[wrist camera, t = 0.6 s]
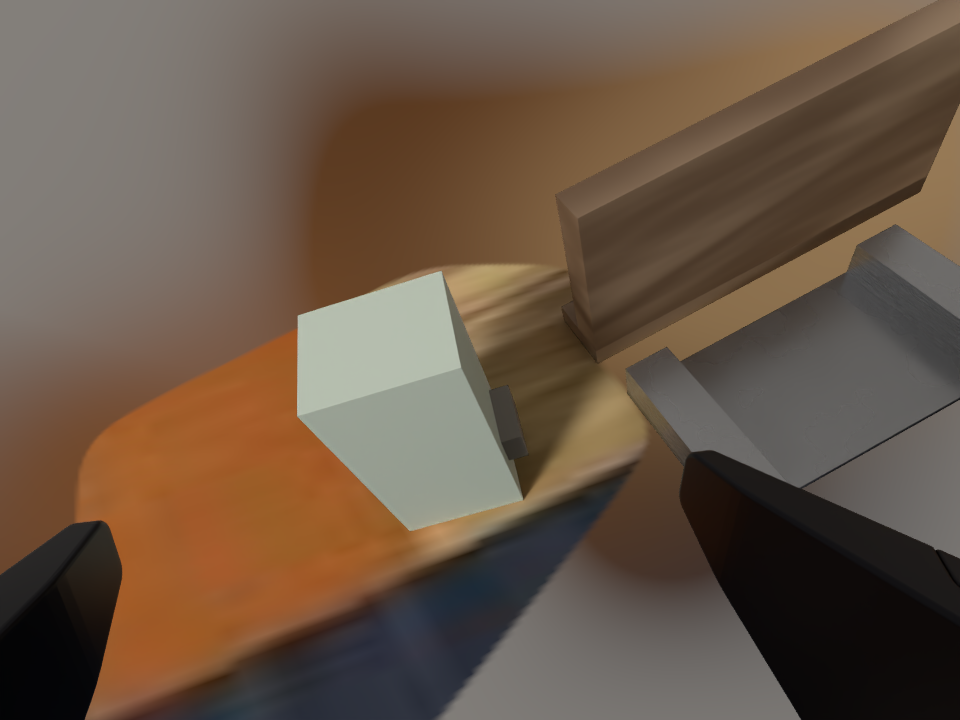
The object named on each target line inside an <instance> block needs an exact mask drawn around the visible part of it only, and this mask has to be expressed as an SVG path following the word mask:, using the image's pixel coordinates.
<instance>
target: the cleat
mask: <svg viewBox="0 0 960 720" xmlns="http://www.w3.org/2000/svg"><path fill="white" fill-rule="evenodd" d="M626 382H627V394H628V395H629V396H630V398H631V399H632V400H633V402H634V403H635V404H636V405H637V407H638V408H639V409H640V411H641V412H642V413H643V415H644V416H645V417H646V418H647V420H648V421H649V422H650V424H651V425H652V426H653V427H654V429H655V430H656V431H657V433H658V434H659V435H660V436H661V438H662V439H663V440H664V442H665V443H666V444H667V446H668V447H669V448H670V449H671V451H672V452H673V453H674V455H675V456H676V457H677V459H678V460H679V461H680V462H681V464H682V465H683V466H684V464H685V460H686V457H687V456H688V454H690V453H691V452H696V451H705V450H714V451H716V452H719V453H721V454H723V455H725V456H728V457H730V458H732V459H734V460H737V461H739V462H741V463H743V464H746V465H748V466H750V467H753V468H755V469H757V470H759V471H762V472H764V473H766V474H768V475H771V476H773V477H775V478H778V479H780V480H782V481H784V482H787V483H789V484H791V485H793V486H796V487H798V488H800V489H802V488H804V487H806V486H808V485H809V484H811V483H813V482H815V481H816V480H818V479H820V478H822V477H824V476H825V475H827V474H829V473H831V472H832V471H834V470H836V469H838V468H839V467H841V466H843V465H845V464H847V463H848V462H850V461H852V460H854V459H855V458H857V457H859V456H861V455H863V454H864V453H866V452H868V451H870V450H871V449H873V448H875V447H877V446H879V445H880V444H882V443H884V442H885V441H887V440H889V439H891V438H893V437H894V436H896V435H898V434H900V433H902V432H903V431H905V430H907V429H908V428H910V427H912V426H914V425H916V424H917V423H919V422H921V421H923V420H925V419H926V418H928V417H930V416H932V415H933V414H935V413H937V412H939V411H941V410H942V409H944V408H946V407H947V406H949V405H951V404H953V403H955V402H956V401H958V400H960V266H958V265H957V264H955V263H953V262H952V261H951V260H949V259H948V258H946V257H945V256H943V255H942V254H940V253H938V252H937V251H935V250H934V249H932V248H931V247H929V246H928V245H926V244H925V243H923V242H922V241H920V240H919V239H917V238H916V237H914V236H913V235H911V234H910V233H908V232H907V231H905V230H904V229H902V228H901V227H899V226H898V225H893V226H892V227H890V228H888V229H886V230H884V231H882V232H880V233H879V234H877V235H875V236H873V237H871V238H869V239H867V240H865V241H864V242H862V243H860V244H858V245H857V246H856V249H855V252H854V254H853V257H852V260H851V262H850V265H849V268H848V270H847V272H846V273H844V274H842V275H840V276H838V277H836V278H835V279H833V280H831V281H829V282H827V283H825V284H823V285H822V286H820V287H818V288H816V289H814V290H812V291H810V292H809V293H807V294H805V295H803V296H801V297H799V298H797V299H796V300H794V301H792V302H790V303H788V304H786V305H784V306H783V307H781V308H779V309H777V310H775V311H773V312H771V313H769V314H768V315H766V316H764V317H762V318H760V319H758V320H756V321H755V322H753V323H751V324H749V325H747V326H745V327H743V328H742V329H740V330H738V331H736V332H734V333H732V334H730V335H729V336H727V337H725V338H723V339H721V340H719V341H718V342H716V343H714V344H712V345H710V346H708V347H706V348H704V349H703V350H701V351H699V352H697V353H695V354H693V355H691V356H690V357H688V358H686V359H684V360H682V361H679V360H678V359H677V358H676V357H675V355H674V354H673V353H672V352H671V351H670V350H669V349H668V348H667V347H666V348H664V349H662V350H660V351H658V352H656V353H655V354H652V355H651V356H649V357H647V358H645V359H643V360H641V361H639V362H638V363H636V364H634V365H632V366H630V367H628V368H626Z"/></svg>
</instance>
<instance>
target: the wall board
mask: <svg viewBox="0 0 960 720" xmlns="http://www.w3.org/2000/svg"><path fill="white" fill-rule="evenodd" d="M959 104H960V0H938V1H936V2H934V3H932V4H930V5H928V6H926V7H924V8H922V9H920V10H918V11H916V12H914V13H912V14H910V15H908V16H906V17H904V18H902V19H901V20H899V21H896V22H894V23H892V24H890V25H888V26H886V27H885V28H883V29H881V30H879V31H877V32H875V33H873V34H871V35H869V36H867V37H865V38H863V39H861V40H859V41H857V42H855V43H853V44H851V45H849V46H847V47H845V48H843V49H841V50H839V51H837V52H835V53H833V54H831V55H829V56H827V57H825V58H823V59H822V60H819V61H818V62H816V63H814V64H812V65H810V66H808V67H806V68H804V69H802V70H800V71H798V72H796V73H794V74H792V75H790V76H788V77H786V78H784V79H782V80H780V81H778V82H776V83H774V84H772V85H770V86H768V87H766V88H764V89H763V90H760V91H759V92H756V93H754V94H753V95H751V96H749V97H747V98H745V99H743V100H741V101H739V102H737V103H735V104H733V105H731V106H729V107H727V108H725V109H723V110H721V111H719V112H717V113H715V114H713V115H711V116H709V117H707V118H705V119H703V120H701V121H699V122H697V123H696V124H694V125H691V126H689V127H688V128H686V129H684V130H682V131H680V132H678V133H676V134H674V135H672V136H670V137H668V138H666V139H664V140H662V141H660V142H658V143H656V144H654V145H652V146H650V147H648V148H646V149H644V150H642V151H640V152H638V153H636V154H634V155H632V156H630V157H628V158H626V159H624V160H623V161H621V162H619V163H617V164H615V165H613V166H611V167H609V168H607V169H605V170H603V171H601V172H599V173H597V174H595V175H593V176H591V177H589V178H587V179H585V180H583V181H581V182H579V183H577V184H575V185H573V186H571V187H569V188H567V189H565V190H563V191H561V192H559V193H557V194H556V195H555V196H556V202H557V207H558V214H559V219H560V225H561V231H562V237H563V242H564V249H565V255H566V260H567V266H568V272H569V278H570V284H571V290H572V295H573V301H571V302H570V303H568V304H566V305H564V306H562V312H563V317H564V320H565V321H566V323H567V324H568V325H569V327H570V328H571V329H572V331H573V332H574V333H575V335H576V336H577V337H578V339H579V340H580V341H581V342H582V344H583V345H584V346H585V348H586V349H587V350H588V352H589V353H590V354H591V356H592V357H593V358H594V360H595V361H596V362H597V363H600V362H602V361H604V360H606V359H607V358H609V357H611V356H613V355H615V354H617V353H619V352H620V351H622V350H624V349H626V348H628V347H630V346H632V345H634V344H636V343H637V342H639V341H641V340H643V339H645V338H647V337H649V336H651V335H652V334H654V333H656V332H658V331H660V330H662V329H663V328H666V327H668V326H669V325H671V324H673V323H675V322H677V321H679V320H681V319H682V318H684V317H686V316H688V315H690V314H692V313H694V312H696V311H698V310H699V309H701V308H703V307H705V306H707V305H709V304H711V303H713V302H714V301H716V300H718V299H720V298H722V297H724V296H726V295H728V294H730V293H731V292H733V291H735V290H737V289H739V288H741V287H743V286H745V285H746V284H748V283H750V282H752V281H754V280H756V279H757V278H760V277H761V276H763V275H765V274H767V273H769V272H771V271H772V270H774V269H776V268H778V267H780V266H782V265H784V264H786V263H788V262H789V261H791V260H793V259H795V258H797V257H799V256H801V255H803V254H804V253H806V252H808V251H810V250H812V249H814V248H816V247H818V246H820V245H822V244H823V243H825V242H827V241H829V240H831V239H833V238H835V237H836V236H838V235H840V234H842V233H844V232H846V231H848V230H849V229H852V228H853V227H855V226H857V225H859V224H861V223H863V222H865V221H867V220H868V219H870V218H872V217H874V216H876V215H878V214H880V213H882V212H883V211H885V210H887V209H889V208H891V207H893V206H895V205H897V204H899V203H900V202H902V201H904V200H906V199H908V198H910V197H911V196H914V195H915V194H917V193H919V192H920V191H921V189H922V186H923V184H924V182H925V180H926V177H927V175H928V173H929V171H930V168H931V166H932V164H933V162H934V159H935V157H936V155H937V153H938V151H939V148H940V146H941V144H942V142H943V139H944V137H945V135H946V133H947V130H948V128H949V126H950V124H951V121H952V119H953V117H954V115H955V112H956V110H957V108H958V106H959Z"/></svg>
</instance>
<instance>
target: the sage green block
mask: <svg viewBox="0 0 960 720" xmlns="http://www.w3.org/2000/svg"><path fill="white" fill-rule="evenodd" d="M297 416H298V418H299V419H300V420H301V421H302V422H303V423H304V424H305V425H306V426H307V427H308V428H309V429H310V430H311V431H312V432H313V433H314V434H315V435H316V436H317V437H318V438H319V439H320V440H321V441H322V442H323V443H324V444H325V445H326V446H327V447H328V448H329V449H330V450H331V451H332V452H333V453H334V454H335V455H336V456H337V457H338V458H339V459H340V460H341V461H342V462H343V463H344V464H345V465H346V466H347V467H348V468H349V469H350V470H351V472H352V473H353V474H354V475H355V476H356V477H357V478H358V479H359V480H360V481H361V482H362V483H363V484H364V485H365V486H366V487H367V488H368V489H369V490H370V491H371V492H372V493H373V494H374V495H375V496H376V497H377V498H378V499H379V500H380V501H381V502H382V503H383V504H384V505H385V506H386V507H387V508H388V509H389V510H390V511H391V512H392V513H393V514H394V515H395V516H396V517H397V518H398V519H399V520H400V521H401V522H402V523H403V524H404V526H405V527H406V528H407V529H408V530H409V531H413V530H416V529H420V528H424V527H427V526H431V525H435V524H438V523H442V522H445V521H449V520H453V519H456V518H460V517H464V516H467V515H471V514H474V513H478V512H482V511H485V510H489V509H493V508H496V507H500V506H503V505H507V504H511V503H514V502H518V501H522V500H523V496H522V492H521V488H520V484H519V479H518V475H517V471H516V467H515V463H514V459H516V458H520V457H523V456H527V455H528V451H527V447H526V443H525V439H524V436H523V432H522V428H521V424H520V420H519V417H518V413H517V409H516V405H515V402H514V400H513V397H512V394H511V392H510V389H509V386H508V385H506V386H502V387H499V388H495V389H492V390H491V388H490V385H489V383H488V381H487V378H486V376H485V373H484V371H483V369H482V366H481V364H480V362H479V359H478V357H477V354H476V352H475V350H474V347H473V345H472V343H471V340H470V338H469V335H468V333H467V331H466V328H465V326H464V324H463V321H462V319H461V316H460V314H459V312H458V309H457V307H456V304H455V302H454V300H453V297H452V295H451V293H450V290H449V288H448V285H447V283H446V281H445V278H444V276H443V274H442V271H439V272H436V273H433V274H430V275H427V276H423V277H420V278H417V279H414V280H411V281H407V282H404V283H401V284H398V285H395V286H391V287H388V288H385V289H382V290H379V291H375V292H372V293H369V294H366V295H363V296H359V297H356V298H353V299H350V300H346V301H343V302H340V303H337V304H334V305H330V306H327V307H325V308H321V309H318V310H314V311H311V312H308V313H305V314H302V315H298V387H297Z"/></svg>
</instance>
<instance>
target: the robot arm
mask: <svg viewBox="0 0 960 720" xmlns="http://www.w3.org/2000/svg"><path fill="white" fill-rule="evenodd" d="M679 497H680V502H681V505H682V508H683V510H684V512H685V514H686V516H687V518H688V520H689V523H690V525H691V527H692V529H693V531H694V533H695V535H696V537H697V539H698V541H699V544H700V546H701V548H702V550H703V552H704V554H705V556H706V558H707V560H708V563H709V564H710V567H711V569H712V571H713V573H714V575H715V577H716V579H717V581H718V583H719V584H720V586H721V588H722V590H723V591H724V593H725V595H726V596H727V598H728V599H729V602H730V603H731V605H732V607H733V608H734V610H735V611H736V613H737V615H738V616H739V618H740V620H741V621H742V623H743V625H744V626H745V628H746V629H747V631H748V633H749V634H750V636H751V638H752V639H753V641H754V643H755V644H756V646H757V648H758V649H759V651H760V653H761V654H762V656H763V658H764V659H765V661H766V662H767V664H768V666H769V667H770V669H771V671H772V672H773V674H774V676H775V677H776V679H777V681H778V682H779V684H780V685H781V687H782V689H783V690H784V692H785V694H786V695H787V697H788V699H789V700H790V702H791V703H792V705H793V707H794V709H795V710H796V712H797V713H798V715H799V717H800V718H801V720H960V559H959V558H957V557H955V556H953V555H950V554H948V553H946V552H944V551H941V550H934V548H933V547H932V546H930V545H928V544H925V543H923V542H921V541H918V540H916V539H914V538H911V537H909V536H907V535H905V534H902V533H900V532H898V531H896V530H893V529H891V528H889V527H886V526H884V525H882V524H879V523H877V522H875V521H873V520H871V519H868V518H866V517H864V516H862V515H859V514H857V513H855V512H852V511H850V510H848V509H846V508H843V507H841V506H839V505H836V504H834V503H832V502H830V501H827V500H825V499H823V498H821V497H818V496H816V495H814V494H812V493H809V492H807V491H805V490H803V489H800V488H798V487H796V486H793V485H791V484H789V483H787V482H784V481H782V480H780V479H778V478H775V477H773V476H771V475H768V474H766V473H764V472H762V471H759V470H757V469H755V468H753V467H750V466H748V465H746V464H743V463H741V462H739V461H737V460H734V459H732V458H730V457H728V456H725V455H723V454H721V453H719V452H716V451H714V450H705V451H696V452H691V453H690V454H688V456H687V457H686V460H685V464H684V469H683V475H682V480H681V485H680V491H679ZM121 580H122V565H121V561H120V558H119V555H118V552H117V549H116V546H115V543H114V540H113V537H112V534H111V531H110V528H109V526H108V525H107V523H105V522H103V521H91V522H82V523H75V524H72V525H70V526H68V527H66V528H65V529H64V530H62V531H61V532H59V533H58V534H57V535H55V536H54V537H52V538H51V539H50V540H48V541H47V542H46V543H44V544H43V545H42V546H40V547H39V548H37V549H36V550H34V551H33V552H31V553H30V554H29V555H27V556H26V557H24V558H23V559H22V560H21V561H19V562H18V563H16V564H15V565H13V566H12V567H11V568H9V569H8V570H6V571H5V572H4V573H2V574H1V575H0V720H85V717H86V714H87V711H88V708H89V706H90V703H91V700H92V697H93V694H94V691H95V688H96V685H97V681H98V677H99V673H100V670H101V666H102V661H103V657H104V653H105V649H106V644H107V640H108V636H109V632H110V627H111V623H112V619H113V615H114V610H115V606H116V602H117V598H118V593H119V589H120V585H121Z"/></svg>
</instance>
